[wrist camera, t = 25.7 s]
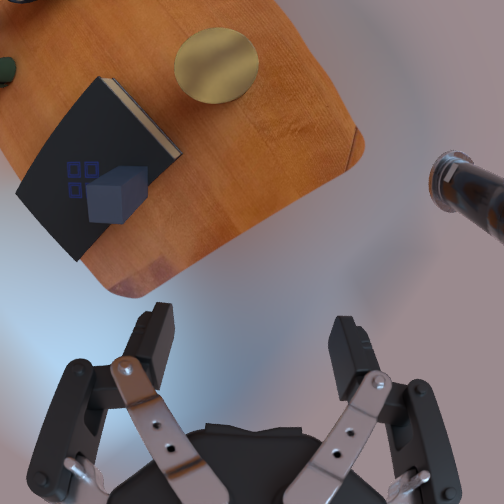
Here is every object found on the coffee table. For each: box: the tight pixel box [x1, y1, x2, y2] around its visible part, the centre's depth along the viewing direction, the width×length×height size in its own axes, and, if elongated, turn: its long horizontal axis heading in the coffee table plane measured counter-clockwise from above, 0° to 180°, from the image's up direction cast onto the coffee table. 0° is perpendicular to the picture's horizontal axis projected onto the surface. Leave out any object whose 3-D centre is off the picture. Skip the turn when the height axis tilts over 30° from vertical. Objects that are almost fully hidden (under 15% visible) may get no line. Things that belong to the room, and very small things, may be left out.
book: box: [15, 76, 183, 262], centre depth 41 cm, size 17×25×7 cm
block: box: [86, 166, 148, 224], centre depth 35 cm, size 4×4×10 cm
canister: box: [174, 28, 259, 104], centre depth 33 cm, size 9×9×14 cm
